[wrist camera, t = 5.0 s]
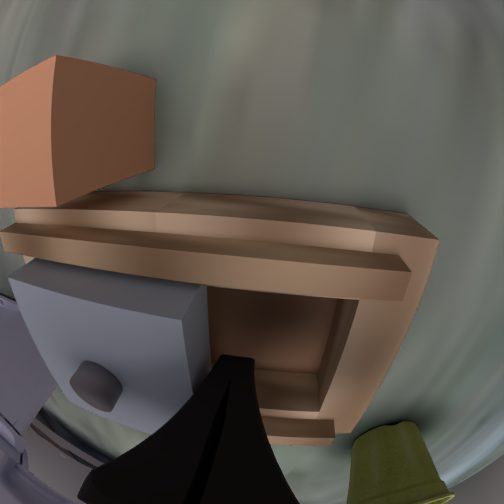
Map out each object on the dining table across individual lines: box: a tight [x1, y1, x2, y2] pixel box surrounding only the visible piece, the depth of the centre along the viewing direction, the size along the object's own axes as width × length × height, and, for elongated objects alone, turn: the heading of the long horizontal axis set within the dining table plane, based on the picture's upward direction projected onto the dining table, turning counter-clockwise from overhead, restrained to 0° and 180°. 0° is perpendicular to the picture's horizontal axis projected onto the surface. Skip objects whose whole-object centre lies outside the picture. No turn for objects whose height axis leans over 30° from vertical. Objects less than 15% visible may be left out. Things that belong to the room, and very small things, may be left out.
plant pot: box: [347, 421, 455, 504], centre depth 14 cm, size 9×9×9 cm
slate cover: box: [8, 258, 212, 435], centre depth 9 cm, size 8×8×4 cm
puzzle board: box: [0, 191, 440, 446], centre depth 12 cm, size 18×12×4 cm, turn 87°
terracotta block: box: [0, 55, 156, 208], centre depth 8 cm, size 4×4×6 cm
